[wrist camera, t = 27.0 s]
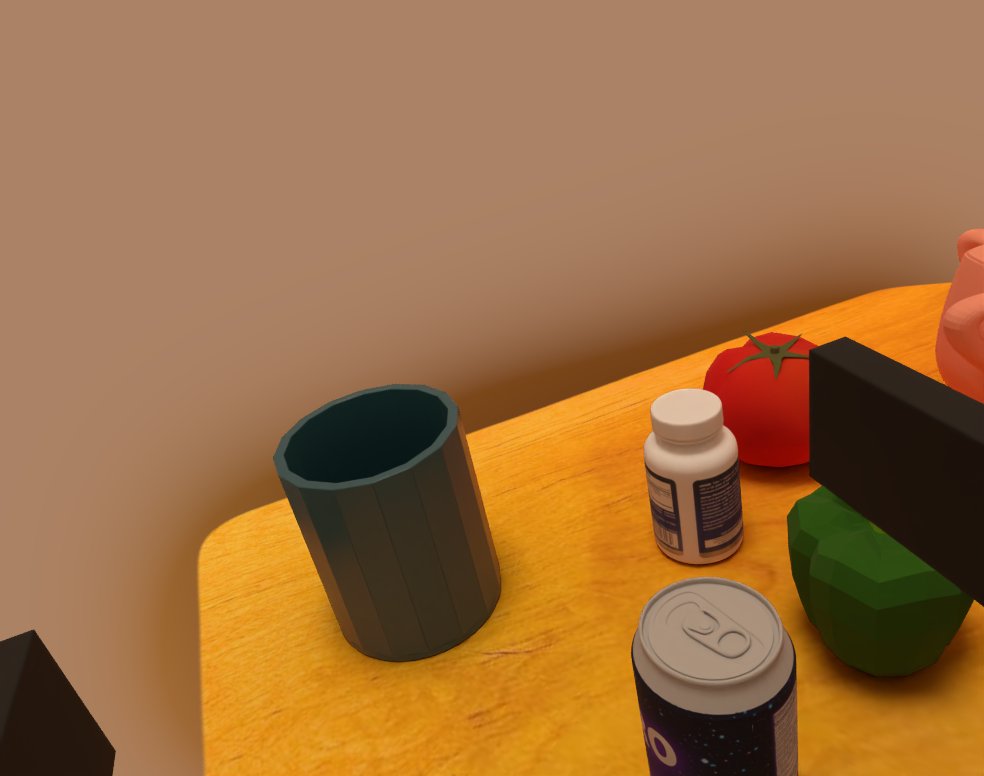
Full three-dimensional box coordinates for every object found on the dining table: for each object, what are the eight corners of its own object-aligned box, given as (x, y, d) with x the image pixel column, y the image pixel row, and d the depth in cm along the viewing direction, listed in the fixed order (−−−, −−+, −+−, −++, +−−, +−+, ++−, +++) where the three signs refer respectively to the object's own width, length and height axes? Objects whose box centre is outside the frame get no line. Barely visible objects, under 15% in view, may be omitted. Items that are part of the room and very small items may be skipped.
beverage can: (711, 743, 36) (692, 548, 30) (826, 824, 32) (828, 616, 26) (631, 831, 33) (594, 634, 28) (746, 932, 29) (729, 725, 24)
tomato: (726, 406, 60) (719, 309, 56) (869, 423, 55) (874, 316, 51) (686, 475, 54) (676, 371, 50) (845, 502, 48) (848, 387, 44)
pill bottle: (746, 512, 49) (738, 380, 45) (741, 570, 45) (732, 432, 41) (661, 508, 51) (645, 381, 47) (648, 564, 47) (630, 431, 43)
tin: (308, 646, 47) (235, 481, 41) (389, 533, 55) (338, 382, 49) (461, 675, 43) (404, 496, 37) (524, 549, 51) (485, 385, 45)
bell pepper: (1014, 682, 36) (1045, 514, 31) (840, 720, 36) (843, 558, 31) (911, 563, 43) (922, 412, 38) (766, 594, 43) (760, 447, 39)
